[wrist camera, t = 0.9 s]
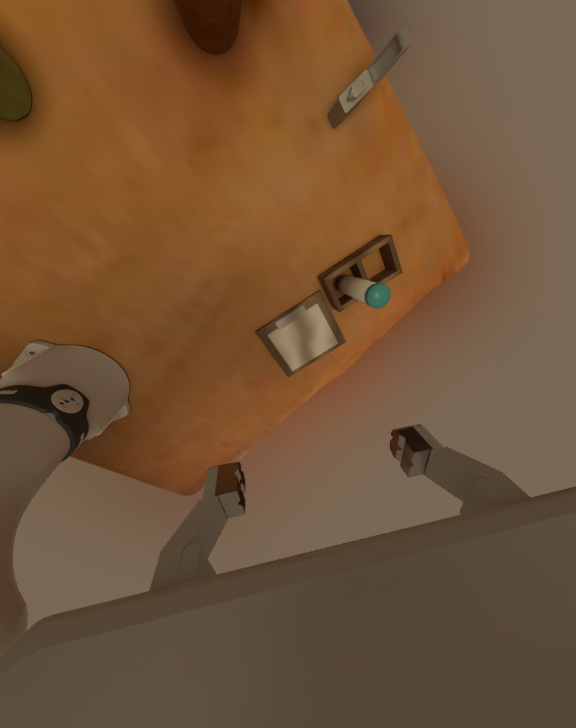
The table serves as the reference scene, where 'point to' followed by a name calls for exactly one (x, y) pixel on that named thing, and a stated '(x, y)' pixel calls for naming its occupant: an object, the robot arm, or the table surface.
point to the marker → (364, 290)
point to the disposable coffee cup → (211, 22)
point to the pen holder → (362, 269)
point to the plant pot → (13, 90)
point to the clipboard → (302, 334)
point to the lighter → (370, 76)
